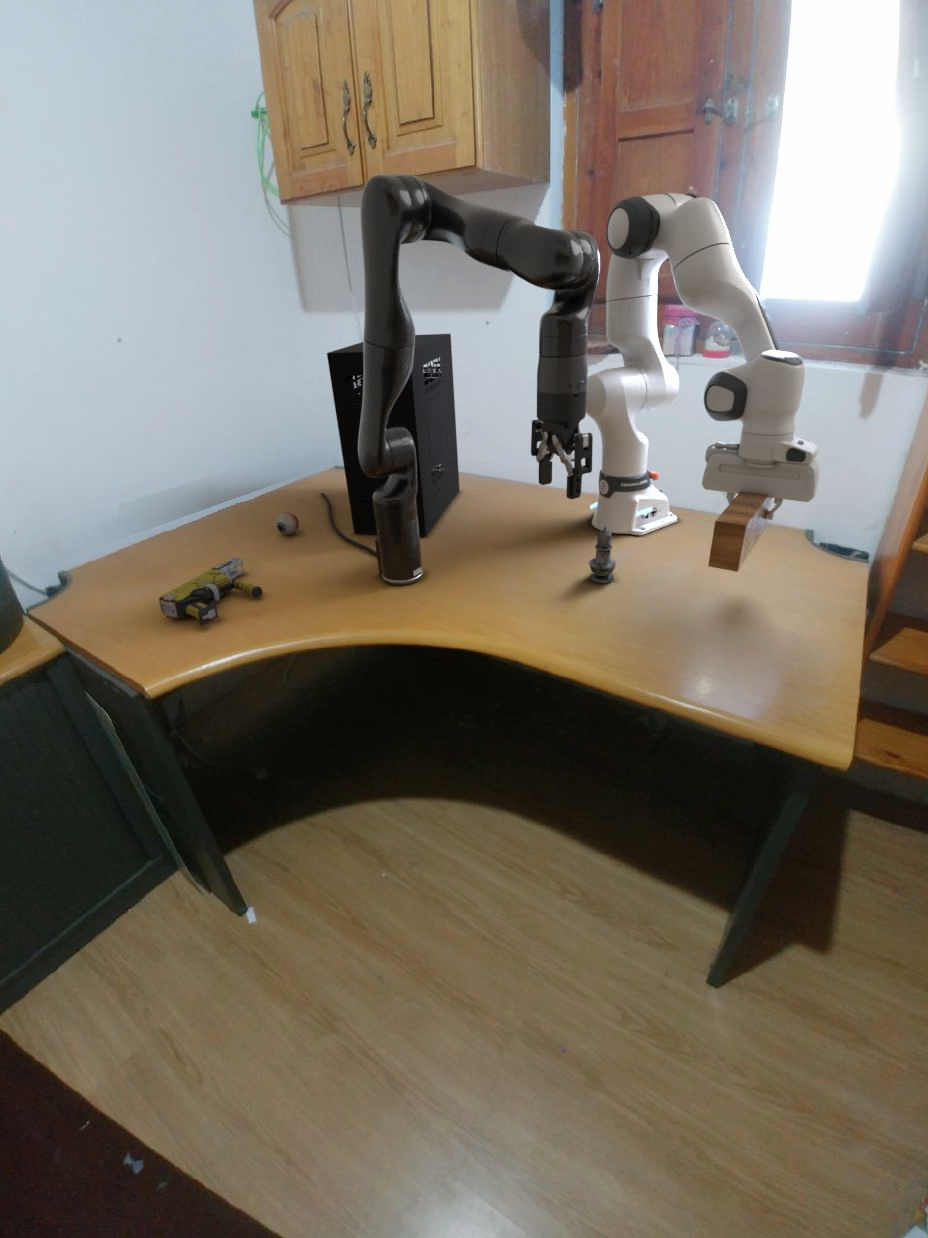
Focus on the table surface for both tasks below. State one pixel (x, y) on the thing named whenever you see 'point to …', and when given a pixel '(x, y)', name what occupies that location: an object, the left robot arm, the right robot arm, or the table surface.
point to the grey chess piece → (602, 559)
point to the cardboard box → (416, 409)
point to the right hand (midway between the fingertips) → (751, 516)
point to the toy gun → (205, 592)
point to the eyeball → (287, 523)
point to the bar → (738, 530)
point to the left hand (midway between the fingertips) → (558, 490)
